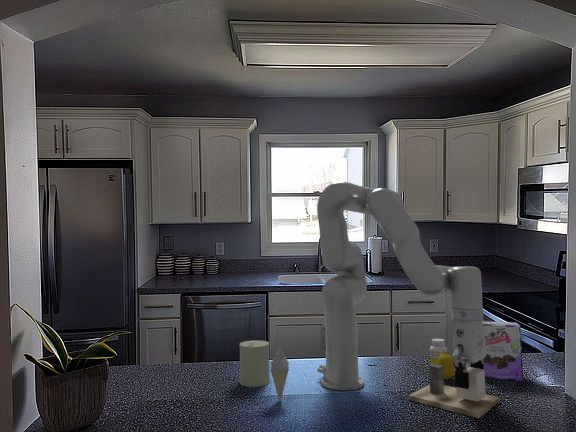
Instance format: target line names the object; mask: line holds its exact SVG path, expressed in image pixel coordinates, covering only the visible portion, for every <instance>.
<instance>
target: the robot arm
mask: <svg viewBox="0 0 576 432" xmlns="http://www.w3.org/2000/svg"><path fill="white" fill-rule="evenodd" d="M326 186H327V185H326ZM345 211H348V212H354V213H359V214H365V215H368V216H371V217H373V219H374V220H375V222H376V223H377V224H378V226H379V228H380V229H381V231H382V232H383V234H384V235H385V236H386V238H387V239H388V241H389V243H390V244H391V246H392V250H393V251H394V254H395V256H396V258H397V261H398V263H399V265H400V266H401V268H402V270H403V271H404V272H405V274H406V276H407V277H408V279H409V280H410V281H411V283H412V284H413V286H414V287H415V289H417V290H418V291H419V292H420V293H421V294H423V295H425V296H429V297H430V296H437V295H440V294H443V293H448V292H450V303H451V304H450V309H451V311H450V313H451V314H450V315H451V320H452V322H453V328H452V355H451V356H452V359H453V365H454V371H455V374H454V384H455V388H456V387H459V388H464V389H469V372H467V368H468V367H473V368H478V369H484V364H481V363H484V359H483V358H485V357H486V343H485V334H484V327H483V321H484V313H483V312H484V308H483V286H482V273H481V272H482V271H481V270H480V268H478V267H476V266H470V265H469V266H468V265H466V266H465V265H463V266H448V265H440V264H439V265H438V264H435V263H434V261H433V260H432V259H431V258H430V256H429V255H428V253H427V251H426V250H425V248H424V246H423V244H422V241H421V239H420V236H421V235H420V229H419V227H418V225H417V224H416V223H415V222H414V219H412V218H411V216H410V214H409V213H408V212H407V211H406V209H405V204H404V200H403V198H402V196H401V195H400V194H399V193H398V192H396V191H394V190H391V189H389V188H385V187H380V188H372V187H367V186H364V185H363V186H361V185H359V184H355V183H352V182H349V181H341V180H340V181H335V182H332V183H331V184H329V185H328V186H327V187H325V188H324V189H323V190H322V191H321V193H320V194H319V197H318V200H317V205H316V213H317V214H316V215H317V221H318V228H319V240H320V250H321V257H322V258H321V259H322V263H323V266H324V268H326V270H328V271H330V272H336V276H334V277H331V278H330V279H328V280H326V282H325V283H324V285H323V286H322V290H321V301H322V307H323V312H324V314H323V315H324V332H325V333H324V336H325V340H324V341H325V364H322V363H321V364H320V365H319V367H318V368H317V370H316V371H317V373H320V374H323V377H322V378H321V380H320V384H321V385H322V387H324V388H326V389H329V390H333V391H334V390H335V391H354V390H358V389H361V388H362V387H364V385H365V380H364V378H362V377H360V376H359V350H358V348H359V344H358V342H359V341H358V338H359V337H358V320H357V315H356V311H355V310H356V309H355V305H358V304H360V303H362V301H364V299H365V298H366V296H367V287H368V286H367V278H366V270H365V269H366V268H365V262H364V261H365V260H364V255H363V252H362V250H361V248H360V246H359V245H358V244H357V243H356V242H354V241H351V240H350V239H349V233H348V225H347V224H348V223H347V221H346V219H345V215H344V212H345ZM469 364H470V366H469Z"/></svg>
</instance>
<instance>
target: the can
mask: <svg viewBox="0 0 576 432" xmlns="http://www.w3.org/2000/svg"><path fill="white" fill-rule="evenodd" d="M270 379H271V378H270V342H268V341H267V340H261V339H260V340H254V339H253V340H245V341H242V342H240V343H239V382H238V383H239V385H241V386H244V387H246V388H258V387H264V386H268V385H269V384H270V382H271V380H270Z"/></svg>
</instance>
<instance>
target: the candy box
mask: <svg viewBox="0 0 576 432" xmlns="http://www.w3.org/2000/svg"><path fill="white" fill-rule="evenodd" d="M483 327H484V334H485V343H486V357H485V358H483V359H484V363H481V364H484V372H485V379H492V380H493V379H494V380H503V381H515V382H516V381H517V382H518V381H519V382H524V370H523V368H524V366H523V353H522V352H523V351H522V350H523V349H522V332H521V331H522V330H521V325H520V324H519V323H518V322H509V321H507V322H505V321H502V322H501V321H484V320H483Z"/></svg>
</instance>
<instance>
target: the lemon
mask: <svg viewBox="0 0 576 432" xmlns="http://www.w3.org/2000/svg"><path fill="white" fill-rule="evenodd" d="M437 365H442V366H443V379H445V381H448V380H449V379H451V378H453V377H455V371H454V365H453V359H452V355H450V354H449V353H448V354H447V353H444V354H442V355H440V356H439V357H438V360H437Z"/></svg>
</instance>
